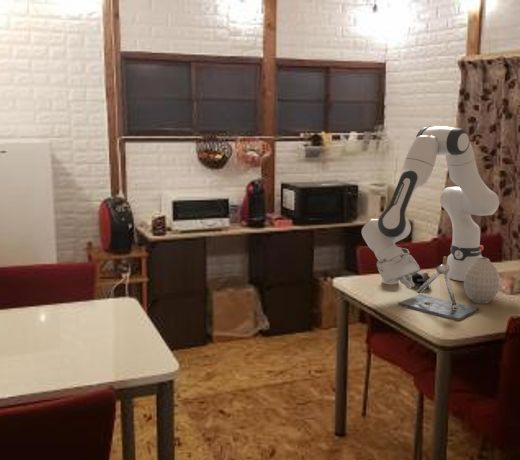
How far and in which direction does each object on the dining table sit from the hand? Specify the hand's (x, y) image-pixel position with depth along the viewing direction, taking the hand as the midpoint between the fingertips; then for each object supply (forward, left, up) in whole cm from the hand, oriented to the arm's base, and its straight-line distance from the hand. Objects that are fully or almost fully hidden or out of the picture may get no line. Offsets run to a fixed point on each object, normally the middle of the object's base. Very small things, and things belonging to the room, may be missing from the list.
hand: (411, 287), depth 226 cm
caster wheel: (-21, -9, -6) cm, 24 cm away
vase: (-20, +18, -6) cm, 27 cm away
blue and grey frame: (-1, +11, -6) cm, 12 cm away
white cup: (-17, -20, -6) cm, 27 cm away
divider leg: (0, +3, -1) cm, 3 cm away
